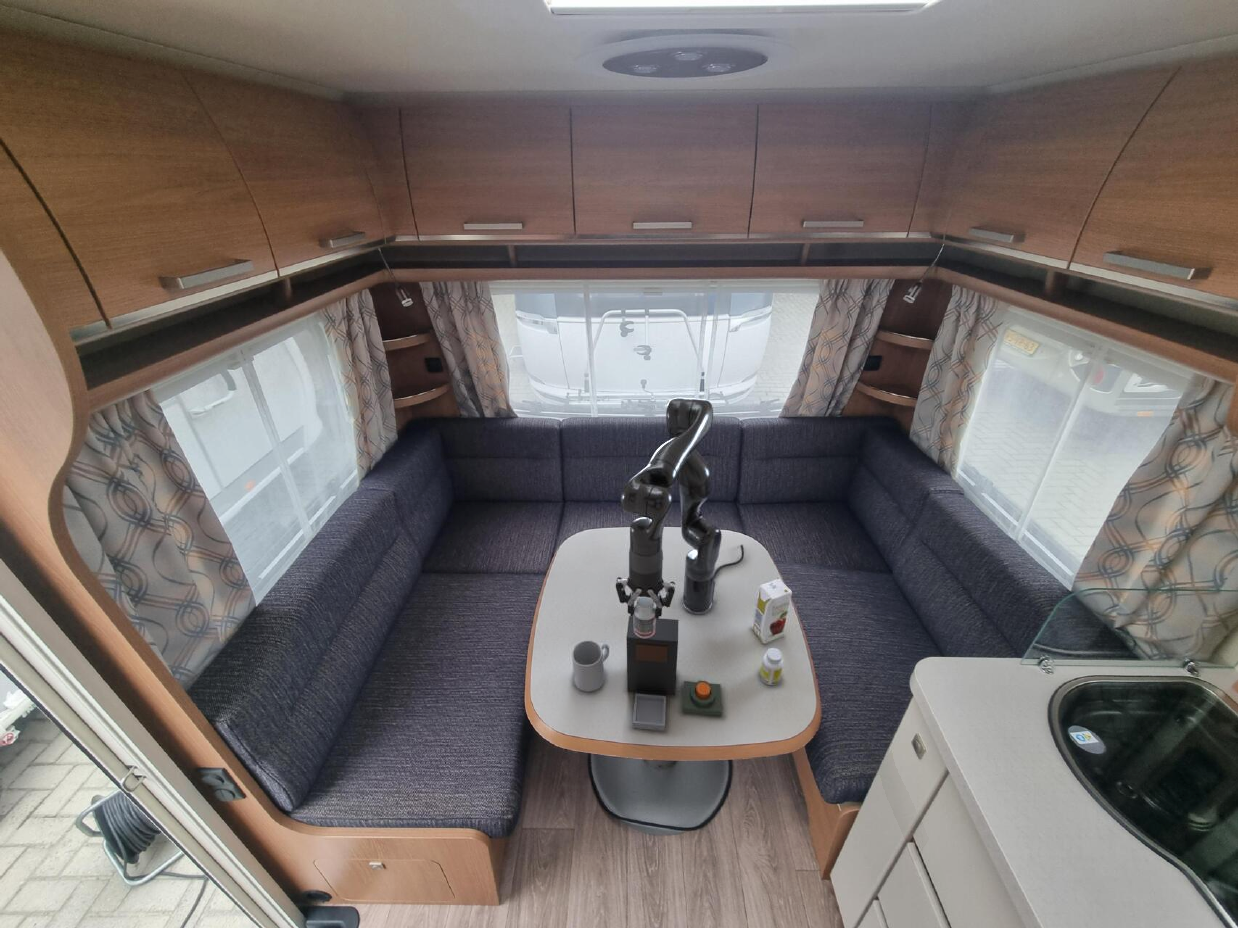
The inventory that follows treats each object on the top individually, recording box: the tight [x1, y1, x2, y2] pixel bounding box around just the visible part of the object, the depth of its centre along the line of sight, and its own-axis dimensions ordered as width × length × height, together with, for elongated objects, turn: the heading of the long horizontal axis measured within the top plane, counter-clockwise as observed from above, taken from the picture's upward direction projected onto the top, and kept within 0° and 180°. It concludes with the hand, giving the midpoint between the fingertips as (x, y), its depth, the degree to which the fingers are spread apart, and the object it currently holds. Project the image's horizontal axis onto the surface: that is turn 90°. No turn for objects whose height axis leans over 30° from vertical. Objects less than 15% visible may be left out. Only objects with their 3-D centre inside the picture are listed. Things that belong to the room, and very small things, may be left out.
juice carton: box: [751, 577, 793, 645], centre depth 145 cm, size 8×9×19 cm
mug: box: [571, 640, 610, 693], centre depth 136 cm, size 12×8×11 cm
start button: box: [696, 682, 710, 699], centre depth 129 cm, size 4×4×2 cm
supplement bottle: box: [759, 647, 784, 686], centre depth 135 cm, size 5×5×10 cm
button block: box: [682, 680, 723, 717], centre depth 130 cm, size 8×10×4 cm
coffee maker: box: [625, 615, 680, 732], centre depth 127 cm, size 17×13×22 cm
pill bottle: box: [633, 597, 656, 638], centre depth 117 cm, size 5×5×10 cm
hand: (644, 614), depth 117 cm, fingers closed on pill bottle, 5 cm apart
